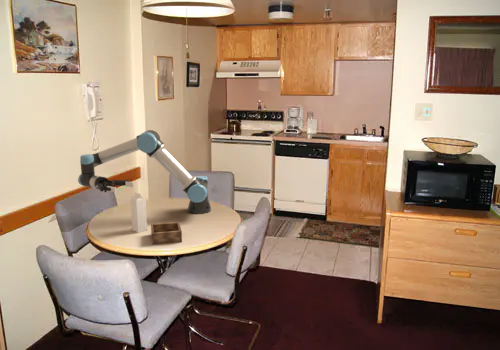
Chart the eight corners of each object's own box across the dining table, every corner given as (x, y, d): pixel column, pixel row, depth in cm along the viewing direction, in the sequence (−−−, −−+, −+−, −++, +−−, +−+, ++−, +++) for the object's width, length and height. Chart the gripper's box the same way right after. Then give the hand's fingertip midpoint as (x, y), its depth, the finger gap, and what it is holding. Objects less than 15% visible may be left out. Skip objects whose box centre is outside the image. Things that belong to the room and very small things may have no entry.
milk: (141, 227, 245) (139, 191, 240) (147, 230, 241) (145, 192, 236) (132, 230, 240) (130, 192, 236) (137, 233, 236) (135, 194, 232)
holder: (179, 232, 238) (179, 222, 237) (181, 242, 223) (181, 231, 222) (151, 234, 234) (150, 224, 233) (152, 244, 220) (151, 233, 218)
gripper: (116, 184, 262) (141, 189, 252) (82, 193, 241) (107, 198, 231) (115, 172, 261) (140, 177, 250) (81, 180, 240) (106, 185, 229)
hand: (124, 187), depth 240 cm, fingers open, 13 cm apart
